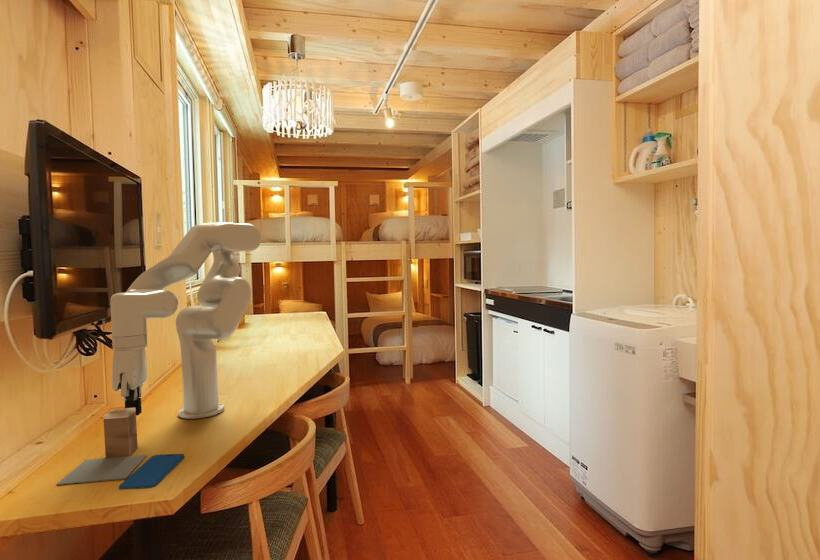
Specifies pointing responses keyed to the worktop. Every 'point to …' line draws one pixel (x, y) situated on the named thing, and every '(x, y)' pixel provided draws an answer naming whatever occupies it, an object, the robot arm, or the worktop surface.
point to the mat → (103, 469)
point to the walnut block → (120, 432)
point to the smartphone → (152, 471)
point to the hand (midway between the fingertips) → (133, 414)
